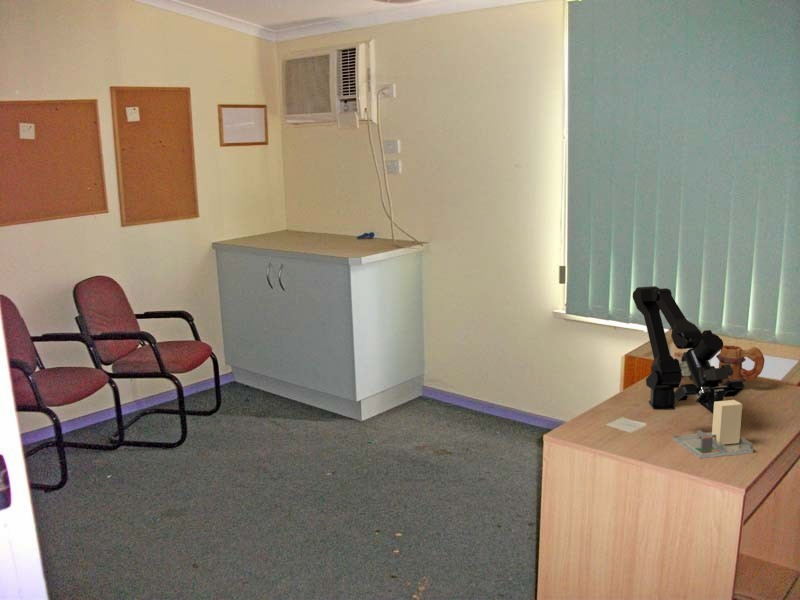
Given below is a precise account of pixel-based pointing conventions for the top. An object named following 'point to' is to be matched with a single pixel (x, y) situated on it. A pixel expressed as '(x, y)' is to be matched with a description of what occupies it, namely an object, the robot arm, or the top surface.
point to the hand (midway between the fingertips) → (720, 418)
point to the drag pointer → (706, 442)
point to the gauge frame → (718, 449)
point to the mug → (740, 362)
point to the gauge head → (726, 422)
